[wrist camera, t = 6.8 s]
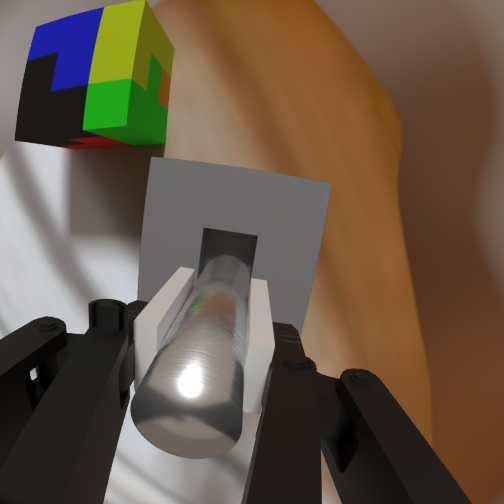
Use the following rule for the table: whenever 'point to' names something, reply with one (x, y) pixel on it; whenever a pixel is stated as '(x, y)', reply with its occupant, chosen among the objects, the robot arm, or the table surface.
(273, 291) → the socket block
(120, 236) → the table surface
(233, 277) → the pin
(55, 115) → the puzzle toy
